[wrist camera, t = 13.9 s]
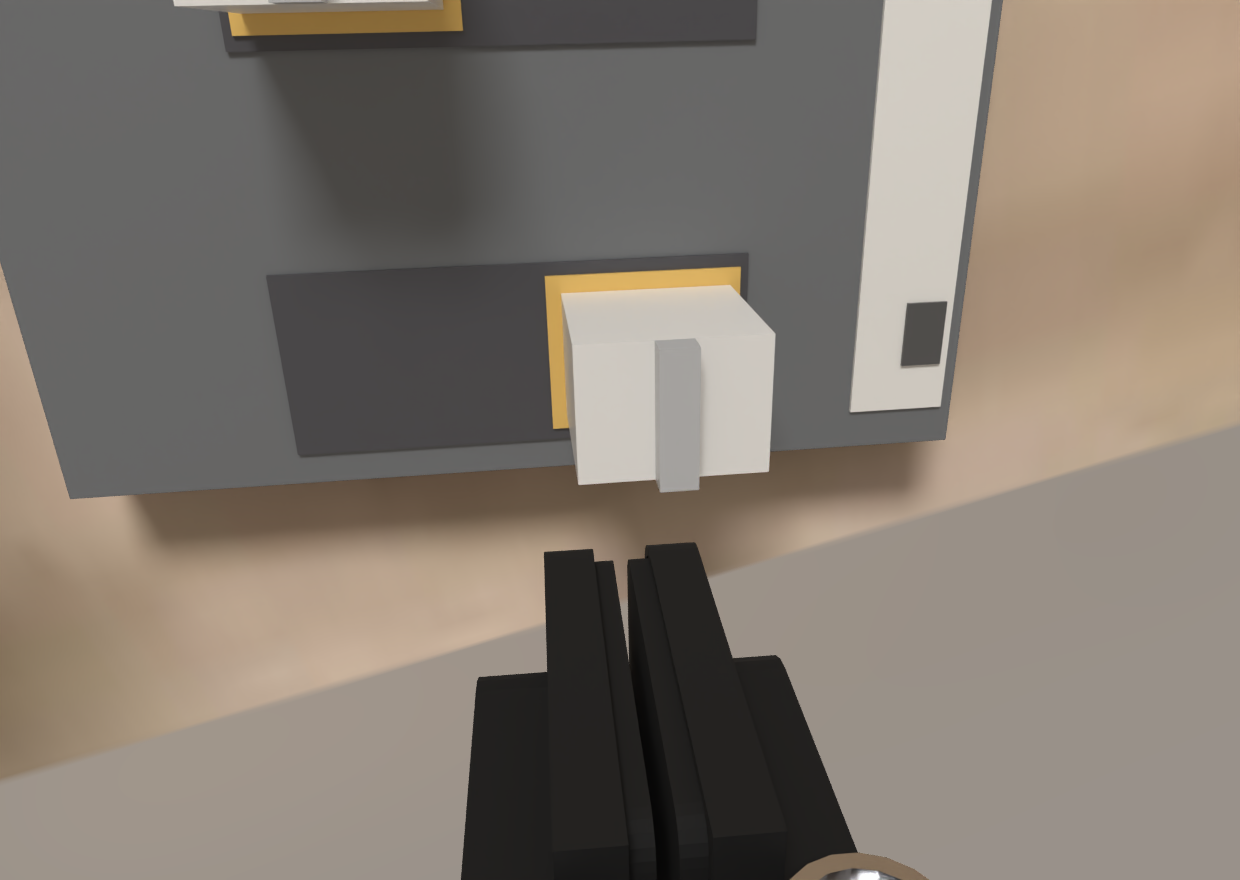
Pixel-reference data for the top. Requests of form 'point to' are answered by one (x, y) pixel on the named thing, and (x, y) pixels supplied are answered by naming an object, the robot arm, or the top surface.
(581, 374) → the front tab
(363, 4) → the tab
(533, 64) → the switch board
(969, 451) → the top surface
